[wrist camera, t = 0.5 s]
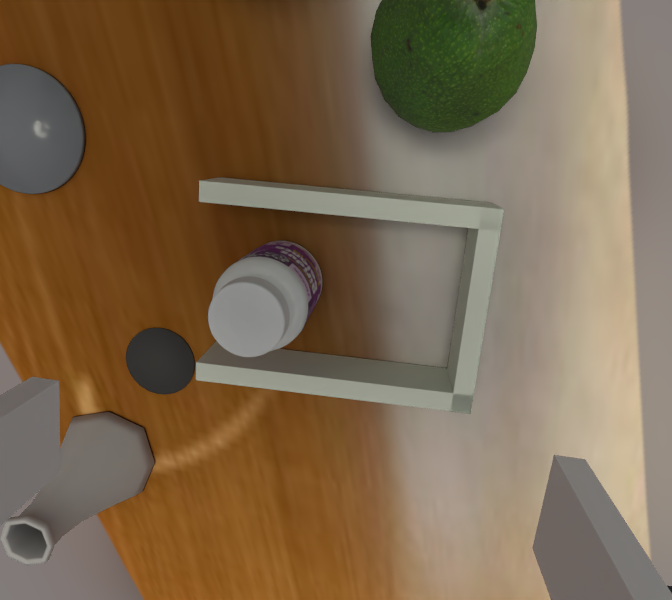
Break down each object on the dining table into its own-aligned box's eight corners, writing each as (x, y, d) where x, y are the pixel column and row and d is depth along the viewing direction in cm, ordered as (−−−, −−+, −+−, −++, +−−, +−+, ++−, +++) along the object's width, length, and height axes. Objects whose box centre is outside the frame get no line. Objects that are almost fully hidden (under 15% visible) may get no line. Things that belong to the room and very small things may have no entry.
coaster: (-37, 60, 35) (-42, 59, 35) (83, 69, 35) (79, 68, 34) (-26, 187, 37) (-30, 187, 37) (87, 198, 37) (84, 199, 36)
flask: (63, 402, 41) (-38, 479, 31) (157, 417, 41) (84, 499, 31) (65, 486, 43) (-30, 582, 33) (154, 501, 43) (85, 603, 33)
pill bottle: (338, 265, 36) (319, 305, 27) (299, 331, 38) (268, 390, 28) (267, 223, 36) (223, 248, 27) (230, 290, 37) (176, 336, 28)
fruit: (345, 49, 33) (318, -6, 21) (458, -46, 31) (495, -164, 19) (424, 160, 34) (439, 165, 22) (537, 74, 32) (617, 31, 20)
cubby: (220, 177, 35) (199, 180, 32) (491, 202, 34) (504, 209, 30) (215, 357, 39) (195, 380, 35) (462, 386, 37) (470, 413, 34)
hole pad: (126, 324, 39) (125, 324, 39) (195, 332, 38) (194, 332, 38) (127, 389, 40) (126, 389, 40) (194, 397, 40) (193, 398, 40)
